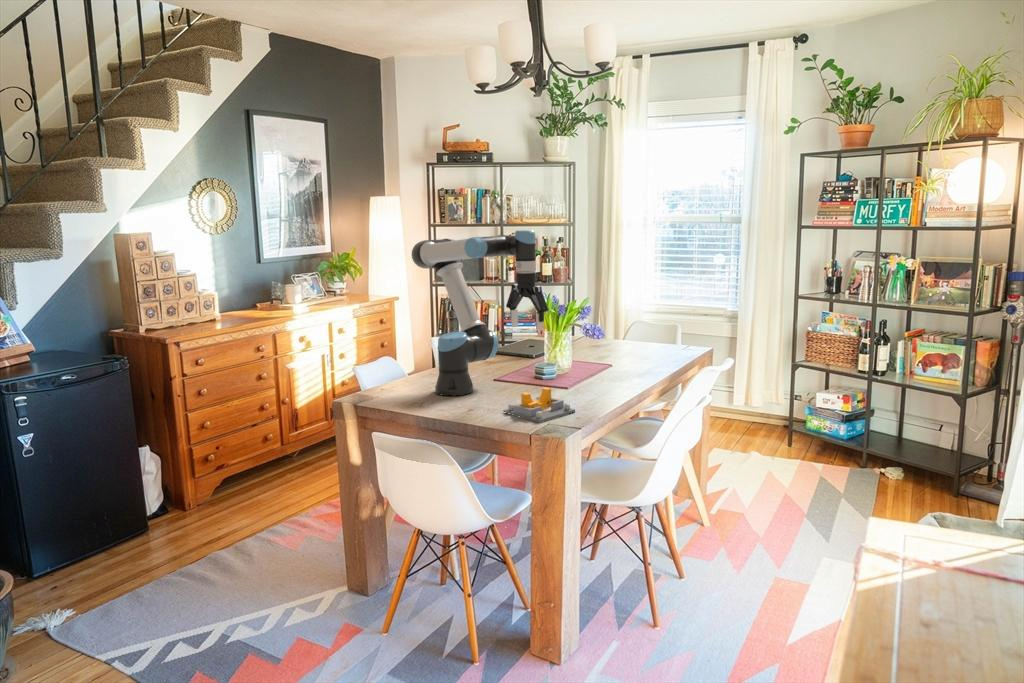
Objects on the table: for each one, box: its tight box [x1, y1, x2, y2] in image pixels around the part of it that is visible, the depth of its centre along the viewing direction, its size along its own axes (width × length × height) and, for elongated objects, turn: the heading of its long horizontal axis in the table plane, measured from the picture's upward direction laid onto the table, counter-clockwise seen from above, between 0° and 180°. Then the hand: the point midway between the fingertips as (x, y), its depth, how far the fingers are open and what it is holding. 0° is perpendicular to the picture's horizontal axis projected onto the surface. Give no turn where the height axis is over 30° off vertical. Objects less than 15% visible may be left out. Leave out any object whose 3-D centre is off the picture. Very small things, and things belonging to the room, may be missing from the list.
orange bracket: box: [520, 387, 552, 410], centre depth 257 cm, size 12×4×6 cm, turn 131°
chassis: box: [502, 396, 576, 424], centre depth 257 cm, size 18×18×4 cm
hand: (527, 328), depth 273 cm, fingers open, 13 cm apart
